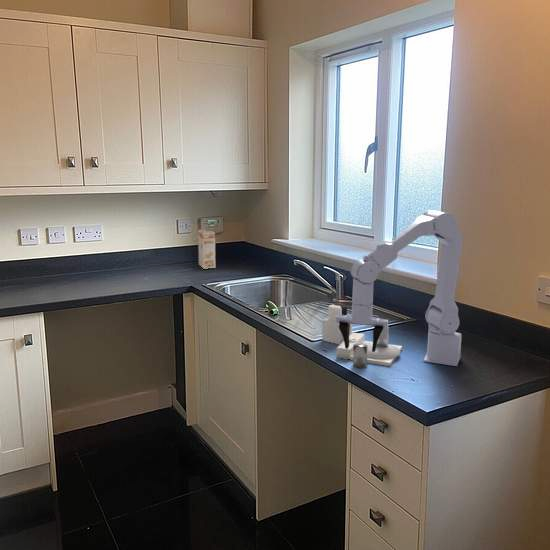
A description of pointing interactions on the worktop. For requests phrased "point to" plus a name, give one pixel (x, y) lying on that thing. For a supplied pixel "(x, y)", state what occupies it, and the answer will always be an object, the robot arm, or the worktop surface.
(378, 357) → the scale
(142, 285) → the worktop surface
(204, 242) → the coffeecake box
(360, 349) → the cylinder
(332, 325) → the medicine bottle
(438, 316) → the robot arm
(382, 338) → the cylinder
